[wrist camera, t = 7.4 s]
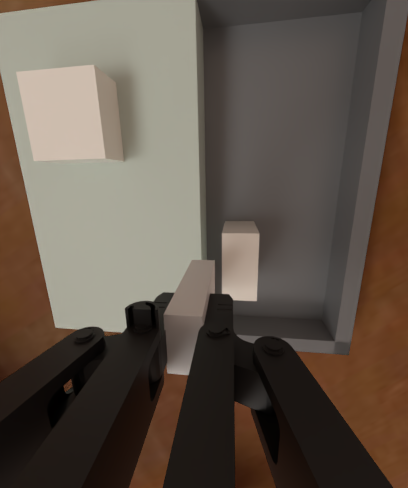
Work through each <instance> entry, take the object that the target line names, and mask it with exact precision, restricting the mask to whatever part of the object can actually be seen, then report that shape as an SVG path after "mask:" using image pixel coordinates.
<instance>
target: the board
mask: <svg viewBox="0 0 408 488" xmlns="http://www.w3.org/2000/svg"><path fill="white" fill-rule="evenodd" d="M84 65H95V66H96V67H98V68H99V69H100V70H101V71H102V72H104V73H105V74H106V75H107V76H108V77H110V78H111V79H112V80H113V81H115V82H116V88H117V98H118V107H119V117H120V127H121V136H122V146H123V156H124V162H99V163H68V164H59V163H49V162H39V161H34V160H33V155H32V150H31V145H30V140H29V135H28V130H27V125H26V120H25V115H24V110H23V105H22V100H21V95H20V90H19V85H18V80H17V75H16V72H20V71H31V70H41V69H52V68H63V67H73V66H84ZM0 72H1V77H2V81H3V86H4V91H5V95H6V100H7V105H8V109H9V114H10V119H11V123H12V128H13V133H14V137H15V142H16V146H17V151H18V156H19V160H20V165H21V170H22V174H23V179H24V184H25V188H26V193H27V197H28V202H29V207H30V211H31V216H32V221H33V225H34V230H35V235H36V239H37V244H38V249H39V253H40V258H41V262H42V267H43V272H44V276H45V281H46V286H47V290H48V295H49V300H50V304H51V309H52V313H53V318H54V323H55V327H56V328H66V329H82V328H85V327H92V326H93V327H99V328H101V329H103V331H108V332H122V333H123V332H124V330H125V329H126V328H127V324H126V315H125V308H126V307H127V306H128V305H130V304H132V303H135V302H139V301H154V300H155V298H156V297H157V296H158V295H160V294H161V293H163V292H170V293H175V291H176V289H177V288H178V286H179V284H180V282H181V280H182V278H183V276H184V274H185V272H186V270H187V268H188V266H189V265H190V263H191V261H192V260H207V234H206V173H205V113H204V53H203V26H202V22H201V17H200V12H199V8H198V3H197V0H97V1H89V2H82V3H74V4H67V5H59V6H52V7H44V8H37V9H29V10H22V11H14V12H7V13H0Z"/></svg>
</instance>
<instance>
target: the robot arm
mask: <svg viewBox="0 0 408 488" xmlns="http://www.w3.org/2000/svg"><path fill="white" fill-rule="evenodd" d="M125 315H126V324H127V328H126V329H125V330H124V332H123V333H122V334H118V335H112V336H104V331H103V329H101V328H99V327H93V326H92V327H85V328H82V329H79V330H77V331H75V332H73V333H71V334H70V335H68V336H67V337H66V338H64V339H63V340H61V341H60V342H58V343H57V344H55V345H54V346H52V347H51V348H50V349H48V350H47V351H45V352H44V353H42V354H41V355H39V356H38V357H36V358H35V359H33V360H32V361H31V362H29V363H28V364H26V365H25V366H23V367H22V368H20V369H19V370H17V371H16V372H15V373H13V374H12V375H10V376H9V377H7V378H6V379H4V380H3V381H1V382H0V488H129V485H130V482H131V479H132V476H133V473H134V470H135V467H136V465H137V462H138V459H139V456H140V453H141V450H142V447H143V444H144V441H145V438H146V435H147V432H148V429H149V426H150V423H151V420H152V417H153V414H154V411H155V408H156V405H157V402H158V399H159V396H160V393H161V390H162V387H163V384H164V369H165V366H166V363H167V373H169V374H181V375H188V380H187V384H186V389H185V393H184V397H183V402H182V406H181V410H180V415H179V419H178V423H177V428H176V432H175V436H174V441H173V445H172V450H171V454H170V458H169V463H168V467H167V471H166V476H165V480H164V484H163V488H235V431H234V401H236V402H238V403H240V404H243V405H245V406H248V407H250V408H251V413H252V416H253V419H254V422H255V425H256V428H257V431H258V434H259V437H260V440H261V443H262V446H263V449H264V452H265V455H266V458H267V461H268V464H269V467H270V470H271V473H272V476H273V479H274V482H275V485H276V488H393V487H392V485H391V484H390V483H389V481H388V480H387V478H386V477H385V476H384V474H383V473H382V471H381V470H380V469H379V467H378V466H377V464H376V463H375V462H374V460H373V459H372V458H371V456H370V455H369V453H368V452H367V451H366V449H365V448H364V446H363V445H362V444H361V442H360V441H359V439H358V438H357V437H356V435H355V434H354V432H353V431H352V430H351V428H350V427H349V425H348V424H347V423H346V421H345V420H344V419H343V417H342V416H341V414H340V413H339V412H338V410H337V409H336V407H335V406H334V405H333V403H332V402H331V400H330V399H329V398H328V396H327V395H326V393H325V392H324V391H323V389H322V388H321V387H320V385H319V384H318V382H317V381H316V380H315V378H314V377H313V375H312V374H311V373H310V371H309V370H308V368H307V367H306V366H305V364H304V363H303V361H302V360H301V359H300V357H299V356H298V354H297V353H296V352H295V350H294V349H293V348H292V346H291V345H290V344H289V343H288V342H286V341H284V340H283V339H281V338H278V337H274V336H264V337H260V338H258V339H257V340H255V342H254V344H253V343H250V342H247V341H245V340H242V339H241V338H239V337H238V336H237V335H236V334H235V332H234V329H233V298H232V297H231V296H230V295H229V294H215V260H192V261H191V263H190V265H189V266H188V268H187V270H186V272H185V274H184V276H183V278H182V280H181V282H180V284H179V286H178V288H177V289H176V291H175V293H170V292H163V293H161V294H160V295H158V296H157V297H156V298H155V300H154V301H139V302H135V303H132V304H130V305H128V306H127V307H126V308H125ZM70 379H71V381H72V386H73V387H72V388H70V389H69V390H68V391H66V392H65V391H64V387H63V385H65V384H66V383H67V382H68V381H69V380H70Z"/></svg>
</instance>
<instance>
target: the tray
mask: <svg viewBox="0 0 408 488" xmlns="http://www.w3.org/2000/svg"><path fill="white" fill-rule="evenodd" d="M197 3H198V8H199V12H200V17H201V22H202V26H203V53H204V113H205V173H206V234H207V260H215V294H222V231H223V227H224V223H225V221H254V222H255V225H256V227H257V229H258V231H259V233H260V234H259V259H258V283H257V301H239V300H233V329H234V332H235V334H236V335H237V336H238V337H239V338H241V339H242V340H245V341H247V342H250V343H253V344H254V342H255V340H257V339H258V338H260V337H264V336H274V337H278V338H281V339H283V340H284V341H286V342H288V343H289V344H290V345H291V346H292V348H293V349H294V350H295V351H301V352H315V353H328V354H342V355H349V351H350V345H351V339H352V333H353V327H354V322H355V316H356V310H357V304H358V299H359V293H360V287H361V281H362V275H363V270H364V264H365V258H366V252H367V247H368V241H369V235H370V229H371V223H372V218H373V212H374V206H375V200H376V195H377V189H378V183H379V177H380V171H381V166H382V160H383V154H384V148H385V143H386V137H387V131H388V125H389V119H390V114H391V108H392V102H393V96H394V91H395V85H396V79H397V73H398V67H399V62H400V56H401V50H402V44H403V39H404V33H405V27H406V21H407V15H408V0H197Z"/></svg>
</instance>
